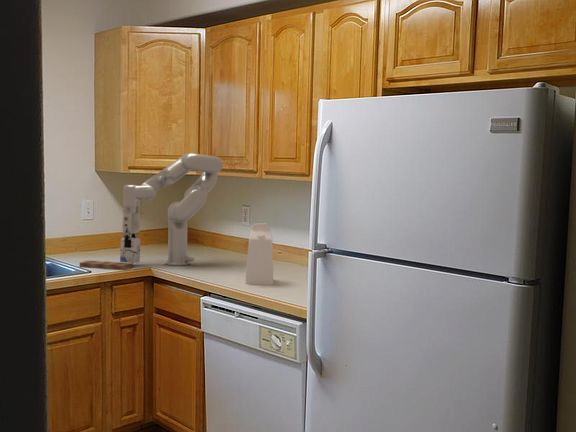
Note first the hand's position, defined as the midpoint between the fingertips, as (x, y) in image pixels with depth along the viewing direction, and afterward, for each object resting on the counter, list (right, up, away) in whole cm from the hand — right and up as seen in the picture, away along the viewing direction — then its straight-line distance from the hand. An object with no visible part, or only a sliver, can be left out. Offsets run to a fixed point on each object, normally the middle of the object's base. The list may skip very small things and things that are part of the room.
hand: (130, 246), depth 297 cm
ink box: (0, -8, +1) cm, 8 cm away
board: (-10, -10, -5) cm, 15 cm away
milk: (+65, -14, -29) cm, 73 cm away
